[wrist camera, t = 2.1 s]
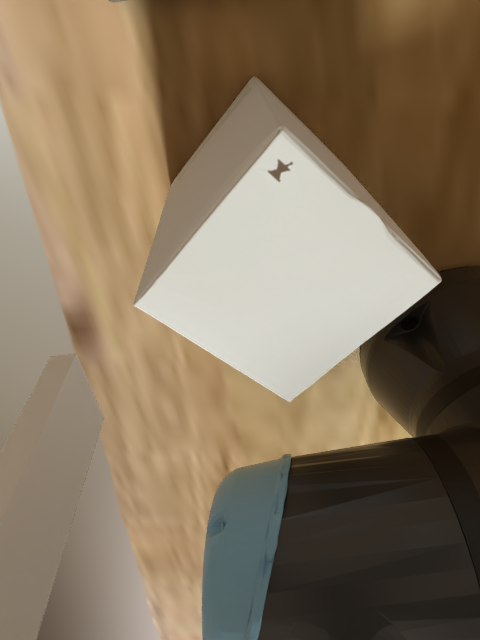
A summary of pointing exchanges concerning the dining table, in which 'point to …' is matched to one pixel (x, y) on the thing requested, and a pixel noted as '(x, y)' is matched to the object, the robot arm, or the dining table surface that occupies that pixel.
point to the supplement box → (276, 251)
